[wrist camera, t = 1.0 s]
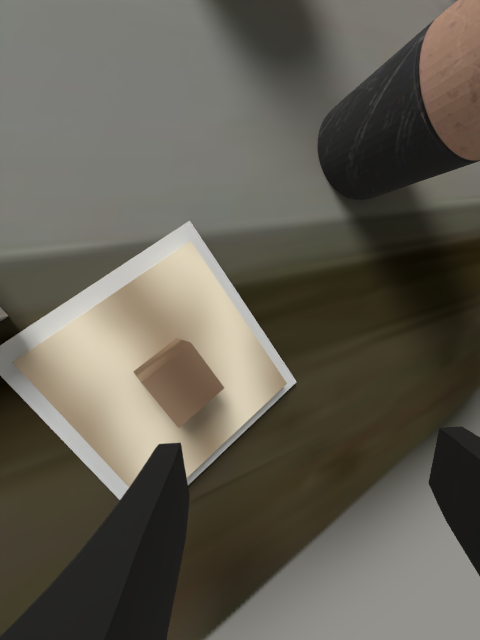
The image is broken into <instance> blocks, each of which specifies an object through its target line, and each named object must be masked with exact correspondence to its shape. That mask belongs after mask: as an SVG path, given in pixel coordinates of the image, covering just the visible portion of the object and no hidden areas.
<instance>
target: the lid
mask: <svg viewBox="0 0 480 640" xmlns="http://www.w3.org/2000/svg"><path fill="white" fill-rule="evenodd" d="M12 363H13V364H14V365H15V366H16V367H17V368H18V369H19V370H20V371H21V372H22V373H23V374H24V375H25V377H26V378H27V379H28V380H29V381H30V382H31V383H32V384H33V385H34V386H35V387H36V388H37V389H38V390H39V392H40V393H41V394H42V395H43V396H44V397H45V398H46V399H47V400H48V401H49V402H50V403H51V404H52V405H53V407H54V408H55V409H56V410H57V411H58V412H59V413H60V414H61V415H62V416H63V417H64V418H65V419H66V420H67V422H68V423H69V424H70V425H71V426H72V427H73V428H74V429H75V430H76V431H77V432H78V433H79V434H80V435H81V437H82V438H83V439H84V440H85V441H86V442H87V443H88V444H89V445H90V446H91V447H92V448H93V449H94V450H95V451H96V453H97V454H98V455H99V456H100V457H101V458H102V459H103V460H104V461H105V462H106V463H107V464H108V465H109V466H110V468H111V469H112V470H113V471H114V472H115V473H116V474H117V475H118V476H119V477H120V478H121V479H122V480H123V481H124V483H125V484H126V485H127V486H128V487H130V486H131V484H132V483H133V481H134V480H135V478H136V477H137V475H138V474H139V472H140V471H141V469H142V468H143V466H144V465H145V463H146V462H147V460H148V459H149V457H150V456H151V454H152V453H153V451H154V450H155V448H156V447H157V446H158V445H159V444H165V443H181V446H182V453H183V459H184V465H185V471H186V478H187V477H188V476H189V475H190V474H192V473H193V472H194V471H195V470H196V469H197V468H198V467H199V466H200V465H201V464H202V463H203V462H204V461H205V460H206V459H207V458H209V457H210V456H211V455H212V454H213V453H214V452H215V451H216V450H217V449H218V448H219V447H220V446H221V445H222V444H223V443H224V442H225V441H227V440H228V439H229V438H230V437H231V436H232V435H233V434H234V433H235V432H236V431H237V430H238V429H239V428H240V427H241V426H242V425H244V424H245V423H246V422H247V421H248V420H249V419H250V418H251V417H252V416H253V415H254V414H255V413H256V412H257V411H258V410H259V409H261V408H262V407H263V406H264V405H265V404H266V403H267V402H268V401H269V400H270V399H271V398H272V397H273V396H274V395H275V394H276V393H277V392H279V391H280V390H281V389H282V388H283V387H284V386H285V385H286V384H287V383H286V381H285V380H284V378H283V377H282V375H281V374H280V372H279V371H278V369H277V368H276V366H275V365H274V363H273V362H272V360H271V359H270V357H269V356H268V355H267V353H266V352H265V350H264V349H263V347H262V346H261V344H260V343H259V341H258V340H257V338H256V337H255V335H254V334H253V332H252V331H251V329H250V328H249V326H248V325H247V323H246V322H245V320H244V319H243V317H242V316H241V314H240V313H239V311H238V310H237V308H236V307H235V305H234V304H233V303H232V301H231V300H230V298H229V297H228V295H227V294H226V292H225V291H224V289H223V288H222V286H221V285H220V283H219V282H218V280H217V279H216V277H215V276H214V274H213V273H212V271H211V270H210V268H209V267H208V265H207V264H206V262H205V261H204V259H203V258H202V256H201V255H200V253H199V252H198V251H197V249H196V248H195V246H194V245H193V243H192V242H191V241H190V242H188V243H187V244H185V245H184V246H182V247H181V248H179V249H178V250H176V251H175V252H173V253H172V254H170V255H169V256H168V257H166V258H165V259H163V260H162V261H160V262H159V263H157V264H156V265H154V266H153V267H151V268H150V269H148V270H147V271H146V272H144V273H143V274H141V275H140V276H138V277H137V278H135V279H134V280H132V281H131V282H129V283H128V284H126V285H125V286H124V287H122V288H121V289H119V290H118V291H116V292H115V293H113V294H112V295H110V296H109V297H107V298H106V299H104V300H103V301H102V302H100V303H99V304H97V305H96V306H94V307H93V308H91V309H90V310H88V311H87V312H85V313H84V314H82V315H81V316H80V317H78V318H77V319H75V320H74V321H72V322H71V323H69V324H68V325H66V326H65V327H63V328H62V329H60V330H59V331H57V332H56V333H55V334H53V335H52V336H50V337H49V338H47V339H46V340H44V341H43V342H41V343H40V344H38V345H37V346H35V347H34V348H33V349H31V350H30V351H28V352H27V353H25V354H24V355H22V356H21V357H19V358H18V359H16V360H15V361H14V362H12Z"/></svg>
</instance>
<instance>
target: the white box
mask: <svg viewBox="0 0 480 640" xmlns="http://www.w3.org/2000/svg"><path fill="white" fill-rule="evenodd" d="M6 317H8V315H7V314H6V313H5V312H4V311H3V309H2V308H1V307H0V321H1V320H3V319H5V318H6Z"/></svg>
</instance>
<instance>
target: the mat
mask: <svg viewBox="0 0 480 640" xmlns="http://www.w3.org/2000/svg"><path fill="white" fill-rule="evenodd" d="M190 241H191V242H192V243H193V245H194V246H195V248H196V249H197V251H198V252H199V253H200V255H201V256H202V258H203V259H204V261H205V262H206V264H207V265H208V267H209V268H210V270H211V271H212V273H213V274H214V276H215V277H216V279H217V280H218V282H219V283H220V285H221V286H222V288H223V289H224V291H225V292H226V294H227V295H228V297H229V298H230V300H231V301H232V303H233V304H234V305H235V307H236V308H237V310H238V311H239V313H240V314H241V316H242V317H243V319H244V320H245V322H246V323H247V325H248V326H249V328H250V329H251V331H252V332H253V334H254V335H255V337H256V338H257V340H258V341H259V343H260V344H261V346H262V347H263V349H264V350H265V352H266V353H267V355H268V356H269V357H270V359H271V360H272V362H273V363H274V365H275V366H276V368H277V369H278V371H279V372H280V374H281V375H282V377H283V378H284V380H285V381H286V383H287V384H286V385H285V386H284V387H283V388H282V389H281V390H280V391H279V392H277V393H276V394H275V395H274V396H273V397H272V398H271V399H270V400H269V401H268V402H267V403H266V404H265V405H264V406H263V407H262V408H261V409H259V410H258V411H257V412H256V413H255V414H254V415H253V416H252V417H251V418H250V419H249V420H248V421H247V422H246V423H245V424H244V425H242V426H241V427H240V428H239V429H238V430H237V431H236V432H235V433H234V434H233V435H232V436H231V437H230V438H229V439H228V440H227V441H225V442H224V443H223V444H222V445H221V446H220V447H219V448H218V449H217V450H216V451H215V452H214V453H213V454H212V455H211V456H210V457H209V458H207V459H206V460H205V461H204V462H203V463H202V464H201V465H200V466H199V467H198V468H197V469H196V470H195V471H194V472H193V473H192V474H190V475H189V476H188V477H187V484H188V485H189V484H190V483H191V482H192V481H193V480H194V479H195V478H196V477H197V476H198V475H199V474H200V473H202V472H203V471H204V470H205V469H206V468H207V467H208V466H209V465H210V464H211V463H212V462H213V461H214V460H215V459H216V458H217V457H218V456H219V455H220V454H221V453H223V452H224V451H225V450H226V449H227V448H228V447H229V446H230V445H231V444H232V443H233V442H234V441H235V440H236V439H237V438H238V437H239V436H240V435H241V434H242V433H244V432H245V431H246V430H247V429H248V428H249V427H250V426H251V425H252V424H253V423H254V422H255V421H256V420H257V419H258V418H259V417H260V416H261V415H262V414H263V413H265V412H266V411H267V410H268V409H269V408H270V407H271V406H272V405H273V404H274V403H275V402H276V401H277V400H278V399H279V398H280V397H281V396H282V395H283V394H285V393H286V392H287V391H288V390H289V389H290V388H291V387H292V386H293V385H294V384H295V383H296V380H295V379H294V377H293V376H292V374H291V373H290V371H289V370H288V368H287V367H286V365H285V364H284V362H283V361H282V359H281V358H280V356H279V355H278V353H277V352H276V350H275V349H274V347H273V346H272V344H271V343H270V341H269V340H268V338H267V337H266V335H265V334H264V332H263V330H262V329H261V327H260V326H259V324H258V323H257V321H256V320H255V318H254V317H253V315H252V314H251V312H250V311H249V309H248V308H247V306H246V305H245V303H244V302H243V300H242V299H241V297H240V296H239V294H238V293H237V291H236V290H235V288H234V287H233V285H232V284H231V282H230V281H229V279H228V278H227V276H226V275H225V273H224V272H223V270H222V269H221V267H220V266H219V264H218V263H217V261H216V260H215V258H214V257H213V255H212V253H211V252H210V250H209V249H208V247H207V246H206V244H205V243H204V241H203V240H202V238H201V237H200V235H199V234H198V232H197V231H196V229H195V228H194V226H193V225H192V223H191V222H190V221H188V222H187V223H185V224H184V225H182V226H181V227H179V228H178V229H176V230H175V231H173V232H172V233H170V234H169V235H167V236H166V237H164V238H163V239H161V240H160V241H158V242H157V243H155V244H154V245H152V246H151V247H149V248H147V249H146V250H144V251H143V252H141V253H140V254H138V255H137V256H135V257H134V258H132V259H131V260H129V261H128V262H126V263H125V264H123V265H122V266H120V267H119V268H117V269H116V270H114V271H113V272H111V273H109V274H108V275H106V276H105V277H103V278H102V279H100V280H99V281H97V282H96V283H94V284H93V285H91V286H90V287H88V288H87V289H85V290H84V291H82V292H81V293H79V294H78V295H76V296H75V297H73V298H72V299H70V300H68V301H67V302H65V303H64V304H62V305H61V306H59V307H58V308H56V309H55V310H53V311H52V312H50V313H49V314H47V315H46V316H44V317H43V318H41V319H40V320H38V321H37V322H35V323H34V324H32V325H30V326H29V327H27V328H26V329H24V330H23V331H21V332H20V333H18V334H17V335H15V336H14V337H12V338H11V339H9V340H8V341H6V342H5V343H3V344H2V345H0V376H1V377H2V378H3V379H4V380H5V381H6V382H7V383H8V384H9V385H10V386H11V387H12V388H13V389H14V390H15V391H16V392H17V393H18V394H19V395H20V396H21V397H22V399H23V400H24V401H25V402H26V403H27V404H28V405H29V406H30V407H31V408H32V409H33V410H34V411H35V412H36V413H37V414H38V415H39V416H40V417H41V418H42V419H43V420H44V421H45V423H46V424H47V425H48V426H49V427H50V428H51V429H52V430H53V431H54V432H55V433H56V434H57V435H58V436H59V437H60V438H61V439H62V440H63V441H64V442H65V443H66V444H67V445H68V447H69V448H70V449H71V450H72V451H73V452H74V453H75V454H76V455H77V456H78V457H79V458H80V459H81V460H82V461H83V462H84V463H85V464H86V465H87V466H88V467H89V468H90V469H91V471H92V472H93V473H94V474H95V475H96V476H97V477H98V478H99V479H100V480H101V481H102V482H103V483H104V484H105V485H106V486H107V487H108V488H109V489H110V490H111V491H112V492H113V493H114V495H115V496H116V497H117V498H118V499H119V500H120V499H121V498H122V497H123V495H124V494H125V493H126V491H127V490H128V488H129V487H128V486H127V485H126V484H125V483H124V481H123V480H122V479H121V478H120V477H119V476H118V475H117V474H116V473H115V472H114V471H113V470H112V469H111V468H110V466H109V465H108V464H107V463H106V462H105V461H104V460H103V459H102V458H101V457H100V456H99V455H98V454H97V453H96V451H95V450H94V449H93V448H92V447H91V446H90V445H89V444H88V443H87V442H86V441H85V440H84V439H83V438H82V437H81V435H80V434H79V433H78V432H77V431H76V430H75V429H74V428H73V427H72V426H71V425H70V424H69V423H68V422H67V420H66V419H65V418H64V417H63V416H62V415H61V414H60V413H59V412H58V411H57V410H56V409H55V408H54V407H53V405H52V404H51V403H50V402H49V401H48V400H47V399H46V398H45V397H44V396H43V395H42V394H41V393H40V392H39V390H38V389H37V388H36V387H35V386H34V385H33V384H32V383H31V382H30V381H29V380H28V379H27V378H26V377H25V375H24V374H23V373H22V372H21V371H20V370H19V369H18V368H17V367H16V366H15V365H14V364H13V363H12V362H14V361H15V360H16V359H18V358H19V357H21V356H22V355H24V354H25V353H27V352H28V351H30V350H31V349H33V348H34V347H35V346H37V345H38V344H40V343H41V342H43V341H44V340H46V339H47V338H49V337H50V336H52V335H53V334H55V333H56V332H57V331H59V330H60V329H62V328H63V327H65V326H66V325H68V324H69V323H71V322H72V321H74V320H75V319H77V318H78V317H80V316H81V315H82V314H84V313H85V312H87V311H88V310H90V309H91V308H93V307H94V306H96V305H97V304H99V303H100V302H102V301H103V300H104V299H106V298H107V297H109V296H110V295H112V294H113V293H115V292H116V291H118V290H119V289H121V288H122V287H124V286H125V285H126V284H128V283H129V282H131V281H132V280H134V279H135V278H137V277H138V276H140V275H141V274H143V273H144V272H146V271H147V270H148V269H150V268H151V267H153V266H154V265H156V264H157V263H159V262H160V261H162V260H163V259H165V258H166V257H168V256H169V255H170V254H172V253H173V252H175V251H176V250H178V249H179V248H181V247H182V246H184V245H185V244H187V243H188V242H190Z"/></svg>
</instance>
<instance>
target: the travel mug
mask: <svg viewBox="0 0 480 640" xmlns="http://www.w3.org/2000/svg"><path fill="white" fill-rule="evenodd" d="M318 153H319V159H320V163H321V166H322V169H323V171H324V173H325V175H326V177H327V179H328V180H329V181H330V183H331V184H332V185H333V186H334V188H335V189H337V190H338V191H339V192H340V193H342V194H343V195H345V196H347V197H349V198H352V199H368V198H372V197H375V196H378V195H381V194H384V193H387V192H390V191H393V190H396V189H399V188H402V187H405V186H408V185H411V184H413V183H416V182H419V181H422V180H425V179H428V178H431V177H434V176H437V175H440V174H443V173H446V172H449V171H452V170H455V169H457V168H460V167H463V166H466V165H469V164H472V163H475V162H478V161H480V0H458V1H457V2H455V3H454V4H453V5H452V6H450V7H449V8H448V9H447V10H446V11H444V12H443V13H442V14H441V15H439V16H438V17H437V18H436V19H435V20H434V21H432V22H431V23H430V24H429V25H428V26H427V27H426V28H424V29H423V30H422V31H421V32H420V33H419V34H417V35H416V36H415V37H414V38H413V39H412V40H411V41H409V42H408V43H407V44H406V45H405V46H404V47H403V48H401V49H400V50H399V51H398V52H397V53H396V54H395V55H393V56H392V57H391V58H390V59H389V60H388V61H387V62H385V63H384V64H383V65H382V66H381V67H380V68H379V69H377V70H376V71H375V72H374V73H373V74H372V75H371V76H369V77H368V78H367V79H366V80H365V81H364V82H363V83H361V84H360V85H359V86H358V87H357V88H356V89H355V90H353V91H352V92H351V93H350V94H349V95H348V96H347V97H345V98H344V99H343V100H342V101H341V102H340V103H339V104H338V105H337V106H335V107H334V108H333V109H332V110H331V111H330V112H329V113H328V115H327V116H326V118H325V119H324V121H323V123H322V125H321V128H320V132H319V137H318Z"/></svg>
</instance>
